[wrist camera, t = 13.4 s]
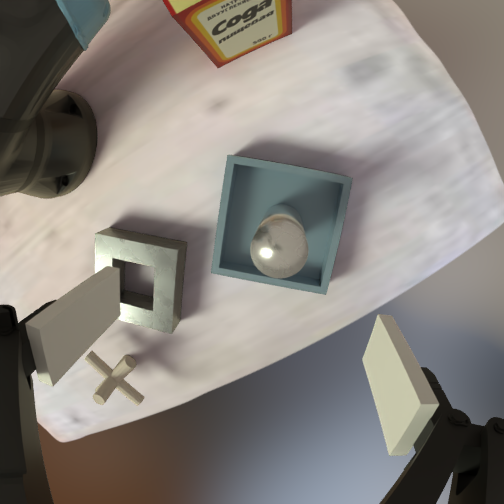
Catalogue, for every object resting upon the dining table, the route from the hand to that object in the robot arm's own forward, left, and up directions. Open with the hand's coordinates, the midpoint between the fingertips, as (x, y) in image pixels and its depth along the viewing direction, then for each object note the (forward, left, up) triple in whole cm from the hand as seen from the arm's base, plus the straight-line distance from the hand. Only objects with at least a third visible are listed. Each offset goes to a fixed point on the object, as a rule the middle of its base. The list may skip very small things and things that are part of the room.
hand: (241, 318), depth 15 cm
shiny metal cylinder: (0, +1, -22) cm, 22 cm away
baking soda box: (-22, -7, -23) cm, 33 cm away
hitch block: (+10, -15, -23) cm, 29 cm away
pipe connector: (+24, -17, -23) cm, 38 cm away
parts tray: (0, +1, -23) cm, 23 cm away
